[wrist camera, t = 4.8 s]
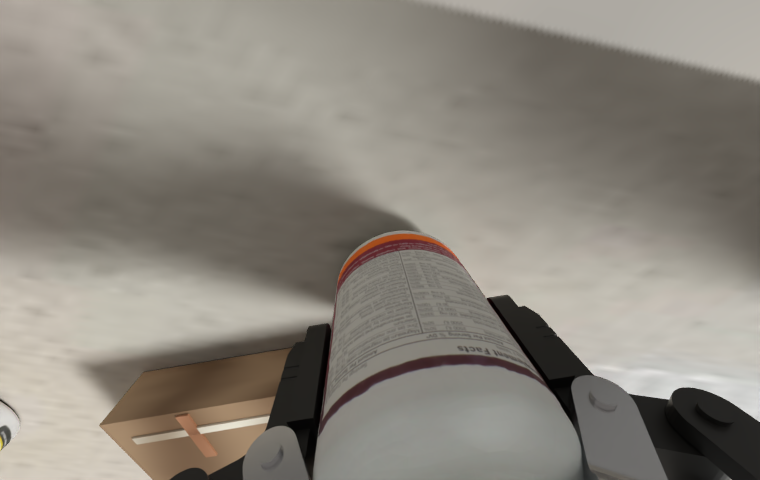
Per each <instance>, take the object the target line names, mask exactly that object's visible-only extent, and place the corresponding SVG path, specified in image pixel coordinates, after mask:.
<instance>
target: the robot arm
mask: <svg viewBox="0 0 760 480" xmlns="http://www.w3.org/2000/svg"><path fill="white" fill-rule="evenodd" d="M487 301H488V302H489V303H490V305H491V306H492V308H493V309H494V311H495V312H496V313H497V315H498V316H499V318H500V319H501V320H502V322H503V323H504V325H505V326H506V328H507V329H508V331H509V332H510V334H511V335H512V336H513V338H514V339H515V341H516V342H517V343H518V344H519V346H520V347H521V349H522V351H523V352H524V353H525V355H526V356H527V358H528V359H529V360H530V362H531V363H532V364H533V366H534V367H535V368H536V370H537V371H538V372H539V374H540V375H541V376H542V378H543V380H544V381H545V383H546V384H547V386H548V387H549V388H550V390H551V391H552V392H553V394H554V395H555V397H556V398H557V400H558V401H559V403H560V405H561V407H562V409H563V410H564V412H565V413H566V415H567V416H568V418H569V420H570V421H571V423H572V425H573V427H574V429H575V431H576V433H577V435H578V438H579V441H580V444H581V448H582V454H583V468H584V474H583V477H584V480H729V479H730V478H731V479H732V480H760V422H759V421H757V420H756V419H754V418H753V417H751V416H750V415H748V414H747V413H745V412H744V411H743V410H741V409H740V408H738V407H737V406H735V405H734V404H732V403H731V402H729V401H727V400H725V399H723V398H721V397H719V396H717V395H715V394H712V393H710V392H707V391H704V390H700V389H696V388H679V389H677V390H675V391H674V392H673V393H672V395H671V397H670V399H669V400H667V399H660V398H652V397H645V396H638V395H632V394H628V393H627V392H626V391H624V390H623V389H622V388H621V387H619V386H618V385H616V384H615V383H613V382H611V381H609V380H607V379H604V378H601V377H597V376H594V375H593V374H592V373H591V372H590V371H589V370H588V368H587V367H586V366H585V365H584V364H583V363H582V362H581V361H580V360H579V359H578V357H577V356H576V355H575V354H574V353H573V352H572V351H571V350H570V349H569V347H568V346H567V345H566V344H565V343H564V342H563V341H562V340H561V339H560V338H559V337H557V334H556V333H555V332H554V331H553V330H552V329H551V328H550V327H549V326H548V324H547V323H546V322H545V321H544V320H543V319H542V318H541V317H540V315H539V314H537V313H535V312H534V311H532V310H531V309H529V308H527V307H526V306H522V307H518V306H517V305H516V303H515V302H514V301H513V300H512V299H511V298H510V296H508V295H503V296H496V297H490V298H487ZM331 332H332V331H331V328H330V325H329V324H328V323H327V324H321V325H315V326H309V327H308V330H307V335H306V339H305V341H303V342H297V343H296V344H295V345H294V346H293V348H292V349H291V351H290V352H289V353H288V355H287V358H286V362H285V365H284V370H283V372H282V375H281V382H279V386H278V389H277V393H276V396H275V400H274V403H273V407H272V410H271V413H270V417H269V420H268V424H267V427H266V429H265V432H263V433H262V434H261V435H260V436H259V437H257V439H256V440H255V441H254V442H253V443H252V445H251V446H250V448H249V449H248V451H247V453H246V455H244V456H243V457H242V458H240V459H238V460H236V461H235V462H233V463H231V464H229V465H227V466H225V467H223V468H221V469H219V470H217V471H215V472H213V473H211V474H209V475H207V473H206V472H205V471H204V470H203V469H200V468H189V469H186V470H184V471H182V472H180V473H178V474H176V475H175V476H174V477H172V478H171V479H170V480H313V468H314V460H315V452H316V444H317V438H318V430H319V423H320V416H321V410H322V404H323V395H324V387H325V379H326V371H327V364H328V356H329V349H330V339H331Z"/></svg>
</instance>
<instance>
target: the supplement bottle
mask: <svg viewBox="0 0 760 480" xmlns="http://www.w3.org/2000/svg"><path fill="white" fill-rule="evenodd" d="M19 428H20V420H19V418H18V416H17V415H16V414H15V413H14V412H13V410H12V409H10V408H9V407H8V406H7V405H5V404H4V403H2V402H1V401H0V451H1V450H2V449H3V448H4V447H5V446H6V445H7V444H8V443H9V442H10V441H11V440H12V439H13V438H14V437H15V435H16V434H17V433H18V431H19Z"/></svg>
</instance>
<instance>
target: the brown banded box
mask: <svg viewBox="0 0 760 480" xmlns="http://www.w3.org/2000/svg"><path fill="white" fill-rule="evenodd" d="M291 349H292V348H288V349H282V350H276V351H270V352H263V353H257V354H251V355H245V356H239V357H233V358H227V359H221V360H215V361H209V362H203V363H197V364H190V365H184V366H178V367H172V368H166V369H160V370H154V371H148V372H143V373H142V375H141V376H140V377H139V378H138V379H137V381H136V382H135V383H134V384H133V385H132V387H131V388H130V389H129V390H128V391H127V393H126V394H125V395H124V396H123V397H122V399H121V400H120V401H119V402H118V403H117V405H116V406H115V407H114V408H113V409H112V411H111V412H110V413H109V414H108V416H107V417H106V418H105V419H104V420H103V422H102V423H101V424H100V425H99V426H100V427H101V428H102V429H103V430H104V431H105V432H106V433H107V434H108V435H109V436H110V437H111V438H112V439H113V440H114V441H115V442H116V443H117V444H118V445H119V446H120V447H121V448H122V449H123V450H124V451H125V452H126V453H127V454H128V455H129V456H130V457H131V458H132V459H133V460H134V461H135V462H136V463H137V464H138V465H139V466H140V467H141V468H142V469H143V470H144V471H145V472H146V473H147V474H148V475H149V476H150V477H151V478H152V479H153V480H170V479H171V478H172V477H174V476H175V475H176V474H178V473H180V472H182V471H184V470H186V469H189V468H200V469H203V470H204V471H205V472H206V473H207V475H209V474H211V473H213V472H215V471H217V470H219V469H221V468H223V467H225V466H227V465H229V464H231V463H233V462H235V461H236V460H238V459H240V458H242V457H243V456H244V455H246V453H247V451H248V449H249V448H250V446H251V445H252V443H253V442H254V441H255V440H256V439H257V437H259V436H260V435H261V434H262V433H263V432H265V429H266V427H267V424H268V420H269V417H270V413H271V410H272V407H273V403H274V400H275V396H276V393H277V389H278V386H279V382H281V375H282V372H283V370H284V365H285V362H286V358H287V355H288V353H289V352H290V351H291Z"/></svg>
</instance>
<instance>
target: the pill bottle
mask: <svg viewBox="0 0 760 480" xmlns="http://www.w3.org/2000/svg"><path fill="white" fill-rule="evenodd" d="M583 474H584V468H583V454H582V448H581V444H580V441H579V438H578V435H577V433H576V431H575V429H574V427H573V425H572V423H571V421H570V420H569V418H568V416H567V415H566V413H565V412H564V410H563V409H562V407H561V405H560V403H559V401H558V400H557V398H556V397H555V395H554V394H553V392H552V391H551V390H550V388H549V387H548V386H547V384H546V383H545V381H544V380H543V378H542V376H541V375H540V374H539V372H538V371H537V370H536V368H535V367H534V366H533V364H532V363H531V362H530V360H529V359H528V358H527V356H526V355H525V353H524V352H523V351H522V349H521V347H520V346H519V344H518V343H517V342H516V341H515V339H514V338H513V336H512V335H511V334H510V332H509V331H508V329H507V328H506V326H505V325H504V323H503V322H502V320H501V319H500V318H499V316H498V315H497V313H496V312H495V311H494V309H493V308H492V306H491V305H490V303H489V302H488V301H487V299H486V298H485V296H484V295H483V293H482V292H481V290H480V289H479V287H478V286H477V285H476V283H475V282H474V280H473V279H472V278H471V276H470V275H469V273H468V272H467V270H466V269H465V268H464V266H463V265H462V264H461V262H460V261H459V260H458V258H457V257H456V256H455V254H454V253H453V252H452V251H451V250H450V249H449V248H448V247H447V246H446V245H445V244H444V243H442V242H441V241H439V240H438V239H436V238H434V237H432V236H430V235H427V234H424V233H420V232H415V231H393V232H387V233H384V234H381V235H378V236H376V237H373V238H371V239H369V240H368V241H366V242H364V243H363V244H362V245H360V246H359V247H358V248H356V249H355V250H354V251H353V252H352V253H351V255H350V256H349V257H348V258H347V260H346V261H345V263H344V265H343V267H342V269H341V271H340V274H339V277H338V282H337V289H336V296H335V304H334V314H333V321H332V332H331V339H330V349H329V356H328V364H327V371H326V379H325V387H324V395H323V404H322V410H321V416H320V423H319V430H318V438H317V444H316V452H315V460H314V468H313V480H584V477H583Z"/></svg>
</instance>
